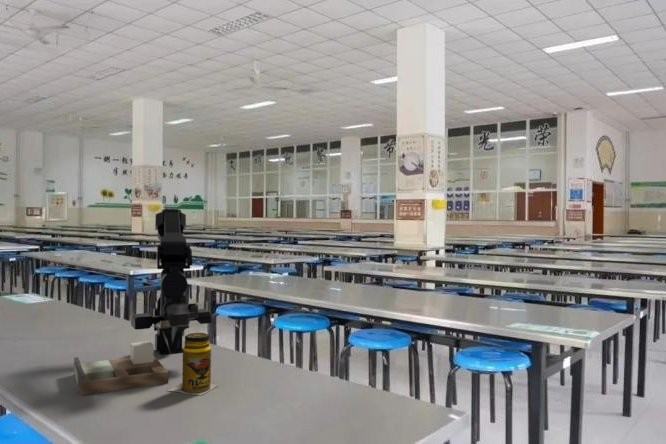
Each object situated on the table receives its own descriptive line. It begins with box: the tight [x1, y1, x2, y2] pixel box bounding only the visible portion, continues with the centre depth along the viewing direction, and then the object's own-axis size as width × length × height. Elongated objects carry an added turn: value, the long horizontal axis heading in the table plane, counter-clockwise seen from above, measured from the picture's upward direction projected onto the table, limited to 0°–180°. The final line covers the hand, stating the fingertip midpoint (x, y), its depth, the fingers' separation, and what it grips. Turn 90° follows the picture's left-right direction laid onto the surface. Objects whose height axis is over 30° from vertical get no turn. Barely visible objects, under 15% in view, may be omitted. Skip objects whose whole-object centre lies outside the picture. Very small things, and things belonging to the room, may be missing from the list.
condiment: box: [167, 332, 218, 396], centre depth 120 cm, size 7×8×12 cm
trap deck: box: [73, 355, 169, 396], centre depth 125 cm, size 18×16×4 cm
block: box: [129, 340, 155, 364], centre depth 131 cm, size 4×4×4 cm
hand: (171, 353), depth 135 cm, fingers closed
